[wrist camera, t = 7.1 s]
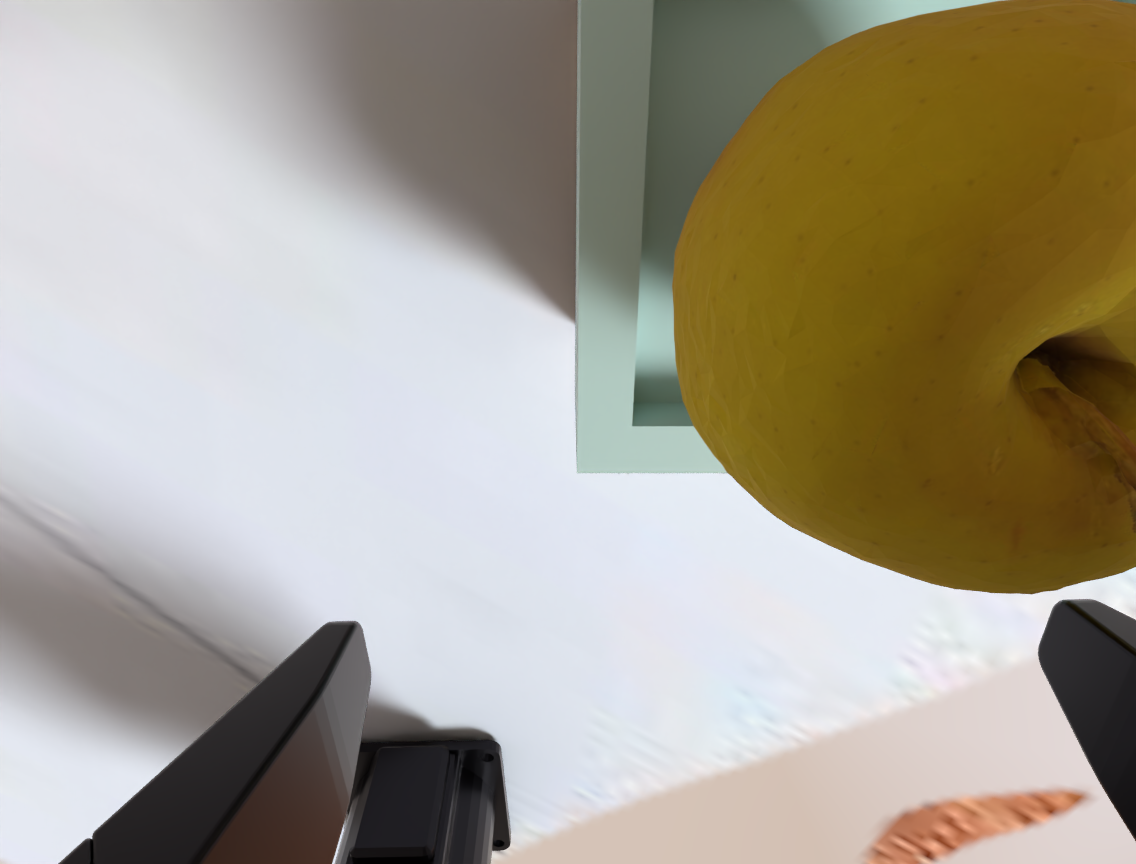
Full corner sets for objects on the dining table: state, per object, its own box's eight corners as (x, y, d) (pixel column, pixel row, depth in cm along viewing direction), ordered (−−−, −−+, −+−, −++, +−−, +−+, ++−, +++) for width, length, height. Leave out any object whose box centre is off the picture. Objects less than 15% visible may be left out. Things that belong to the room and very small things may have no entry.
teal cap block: (960, 394, 16) (1051, 473, 13) (574, 394, 16) (576, 473, 13) (1098, -78, 12) (1277, -121, 9) (578, -78, 12) (582, -122, 9)
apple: (899, 426, 14) (1242, 806, 7) (592, 352, 13) (640, 704, 6) (1093, 83, 11) (2008, 151, 4) (714, -46, 10) (1074, -235, 3)
